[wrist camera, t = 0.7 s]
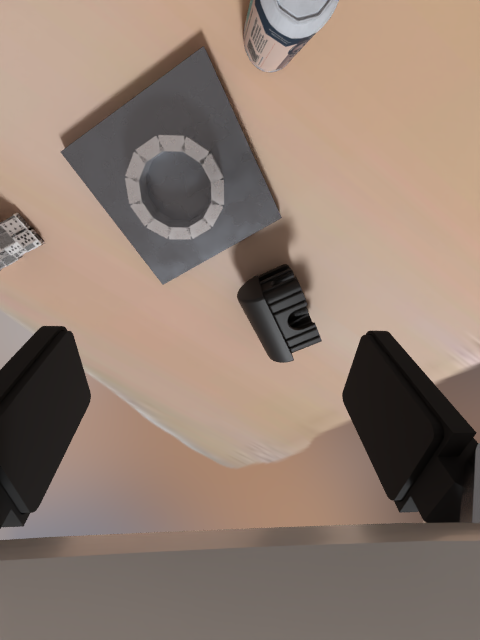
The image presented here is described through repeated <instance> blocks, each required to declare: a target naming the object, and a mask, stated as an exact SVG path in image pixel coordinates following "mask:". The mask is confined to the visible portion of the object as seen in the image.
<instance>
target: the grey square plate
mask: <svg viewBox="0 0 480 640" xmlns="http://www.w3.org/2000/svg"><path fill="white" fill-rule="evenodd" d="M61 153H62V154H63V156H64V157H65V158H66V160H67V161H68V162H69V164H70V165H71V166H72V167H73V169H74V170H75V171H76V173H77V174H78V175H79V177H80V178H81V179H82V180H83V182H84V183H85V184H86V186H87V187H88V188H89V190H90V191H91V192H92V193H93V195H94V196H95V197H96V199H97V200H98V201H99V203H100V204H101V205H102V206H103V208H104V209H105V210H106V212H107V213H108V214H109V215H110V217H111V218H112V219H113V221H114V222H115V223H116V225H117V226H118V227H119V228H120V230H121V231H122V232H123V234H124V235H125V236H126V238H127V239H128V240H129V241H130V243H131V244H132V245H133V247H134V248H135V249H136V251H137V252H138V253H139V254H140V256H141V257H142V258H143V260H144V261H145V262H146V264H147V265H148V266H149V267H150V269H151V270H152V271H153V273H154V274H155V275H156V276H157V278H158V279H159V280H160V282H161V283H162V284H165V283H167V282H168V281H170V280H172V279H174V278H176V277H177V276H179V275H181V274H183V273H184V272H186V271H188V270H190V269H192V268H193V267H195V266H197V265H199V264H200V263H202V262H204V261H206V260H208V259H209V258H211V257H213V256H215V255H216V254H218V253H220V252H222V251H224V250H225V249H227V248H229V247H231V246H232V245H234V244H236V243H238V242H240V241H241V240H243V239H245V238H247V237H248V236H250V235H252V234H254V233H256V232H257V231H259V230H261V229H263V228H264V227H266V226H268V225H270V224H272V223H273V222H275V221H277V220H279V219H280V218H282V217H281V215H280V213H279V211H278V209H277V206H276V204H275V202H274V200H273V198H272V195H271V193H270V191H269V189H268V187H267V184H266V182H265V180H264V178H263V176H262V173H261V171H260V169H259V167H258V165H257V162H256V160H255V158H254V156H253V153H252V151H251V149H250V147H249V145H248V142H247V140H246V138H245V136H244V134H243V131H242V129H241V127H240V125H239V123H238V120H237V118H236V116H235V114H234V112H233V109H232V107H231V105H230V103H229V101H228V98H227V96H226V94H225V92H224V90H223V87H222V85H221V83H220V81H219V79H218V76H217V74H216V72H215V70H214V68H213V65H212V63H211V61H210V59H209V57H208V54H207V52H206V50H205V48H204V46H203V47H202V48H200V49H199V50H198V51H196V52H195V53H194V54H192V55H191V56H190V57H188V58H187V59H186V60H184V61H183V62H182V63H180V64H179V65H177V66H176V67H175V68H173V69H172V70H171V71H169V72H168V73H167V74H165V75H164V76H163V77H161V78H160V79H158V80H157V81H156V82H154V83H153V84H152V85H150V86H149V87H148V88H146V89H145V90H144V91H142V92H141V93H140V94H138V95H137V96H135V97H134V98H133V99H131V100H130V101H129V102H127V103H126V104H125V105H123V106H122V107H121V108H119V109H118V110H117V111H115V112H114V113H112V114H111V115H110V116H108V117H107V118H106V119H104V120H103V121H102V122H100V123H99V124H98V125H96V126H95V127H94V128H92V129H91V130H89V131H88V132H87V133H85V134H84V135H83V136H81V137H80V138H79V139H77V140H76V141H75V142H73V143H72V144H71V145H69V146H68V147H66V148H65V149H64V150H62V151H61Z"/></svg>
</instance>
